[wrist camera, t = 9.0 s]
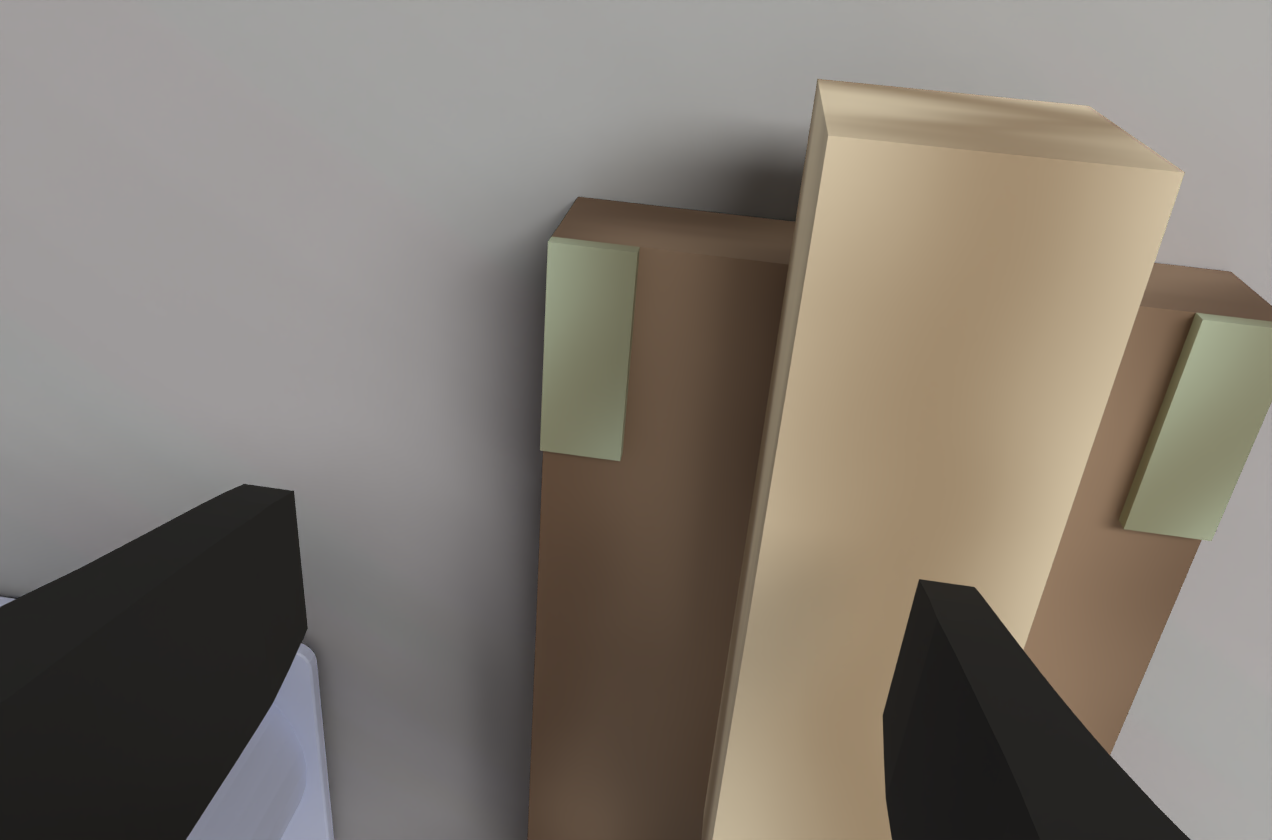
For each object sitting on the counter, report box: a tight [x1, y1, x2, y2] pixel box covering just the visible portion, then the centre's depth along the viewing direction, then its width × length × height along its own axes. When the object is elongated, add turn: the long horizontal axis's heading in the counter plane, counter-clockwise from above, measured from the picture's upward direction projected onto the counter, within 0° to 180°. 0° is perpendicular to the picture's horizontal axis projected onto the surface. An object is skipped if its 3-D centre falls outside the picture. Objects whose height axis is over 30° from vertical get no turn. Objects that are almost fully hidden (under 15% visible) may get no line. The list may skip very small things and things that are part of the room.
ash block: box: [701, 79, 1185, 840], centre depth 17 cm, size 4×16×4 cm, turn 176°
